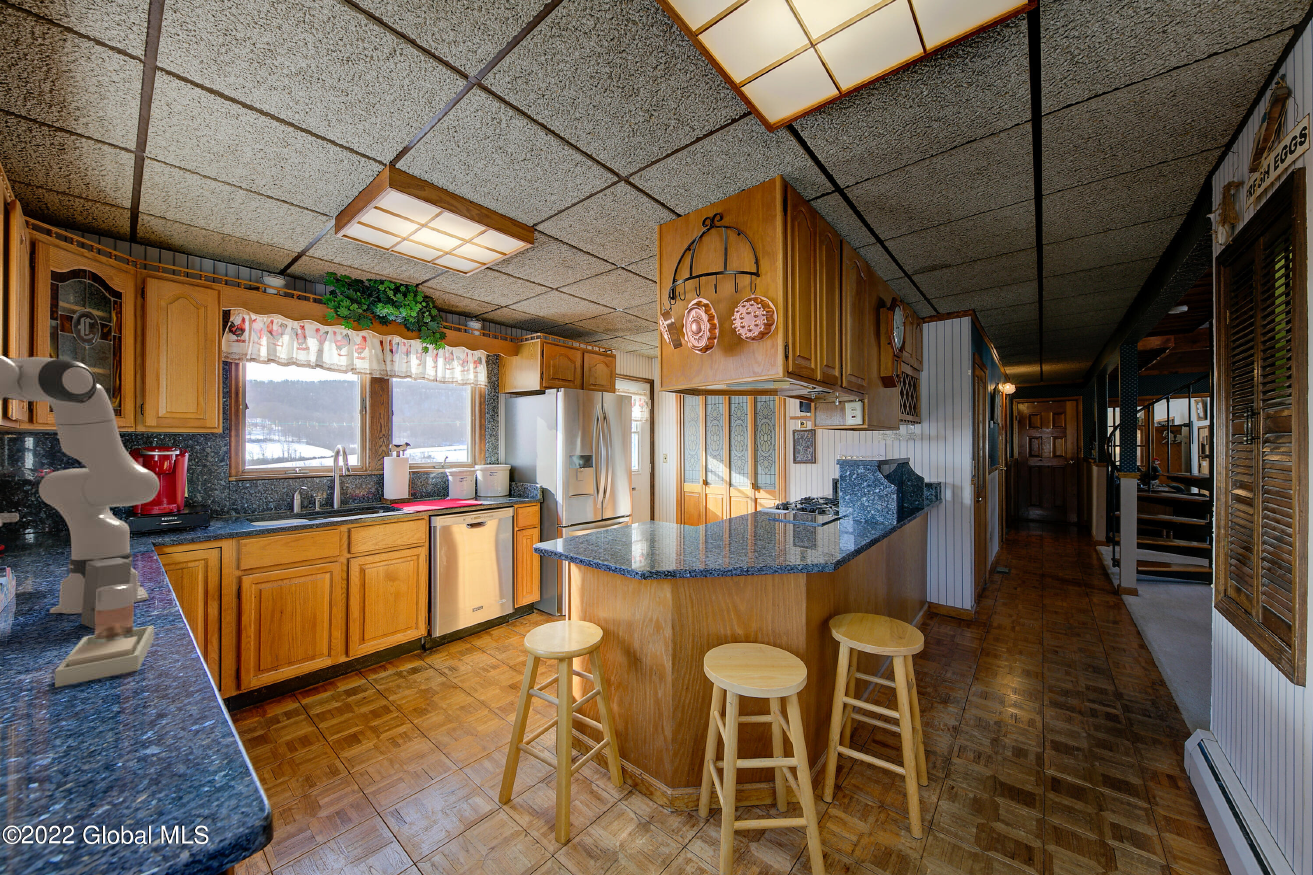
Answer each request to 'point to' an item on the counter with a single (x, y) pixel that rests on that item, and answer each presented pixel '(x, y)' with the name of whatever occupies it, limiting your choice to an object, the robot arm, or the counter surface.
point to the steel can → (114, 613)
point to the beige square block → (103, 651)
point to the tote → (105, 661)
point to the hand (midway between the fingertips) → (9, 519)
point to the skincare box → (102, 583)
